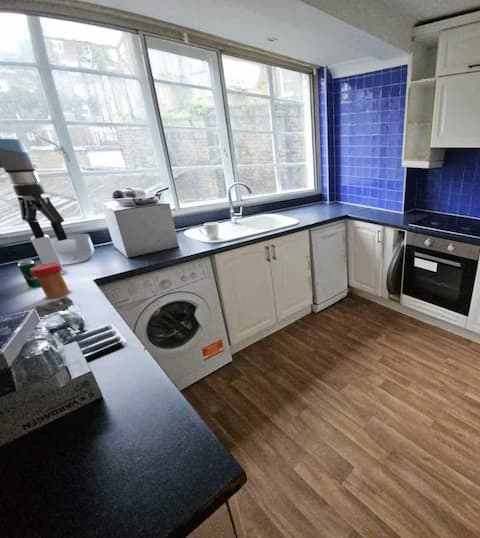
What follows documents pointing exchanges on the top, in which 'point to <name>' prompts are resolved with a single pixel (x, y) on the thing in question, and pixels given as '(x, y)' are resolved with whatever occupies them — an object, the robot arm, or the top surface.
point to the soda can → (29, 273)
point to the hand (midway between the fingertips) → (51, 238)
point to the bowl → (73, 248)
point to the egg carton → (53, 306)
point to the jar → (53, 286)
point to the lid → (45, 269)
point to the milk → (46, 251)
